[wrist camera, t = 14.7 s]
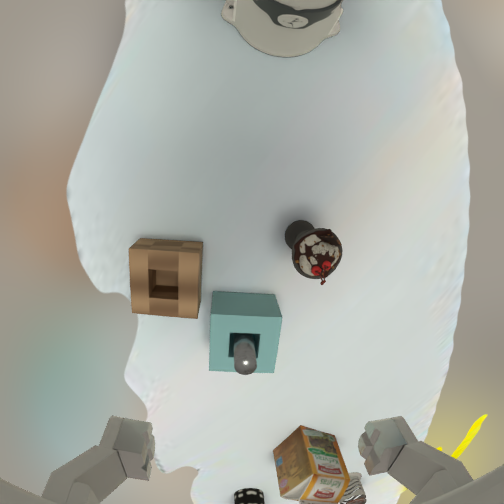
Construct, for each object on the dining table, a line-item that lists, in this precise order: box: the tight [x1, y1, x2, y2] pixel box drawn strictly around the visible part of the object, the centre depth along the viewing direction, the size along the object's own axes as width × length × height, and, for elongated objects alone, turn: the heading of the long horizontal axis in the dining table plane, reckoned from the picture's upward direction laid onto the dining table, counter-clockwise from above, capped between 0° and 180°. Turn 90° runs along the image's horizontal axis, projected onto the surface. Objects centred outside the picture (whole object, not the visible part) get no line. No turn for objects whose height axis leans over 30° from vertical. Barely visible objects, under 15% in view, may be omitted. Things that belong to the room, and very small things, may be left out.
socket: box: [129, 238, 203, 319], centre depth 46 cm, size 10×10×6 cm
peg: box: [233, 333, 257, 375], centre depth 45 cm, size 3×3×12 cm
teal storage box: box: [209, 291, 282, 373], centre depth 48 cm, size 10×10×8 cm
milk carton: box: [273, 425, 351, 504], centre depth 54 cm, size 11×11×19 cm
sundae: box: [285, 220, 342, 285], centre depth 41 cm, size 7×7×15 cm
